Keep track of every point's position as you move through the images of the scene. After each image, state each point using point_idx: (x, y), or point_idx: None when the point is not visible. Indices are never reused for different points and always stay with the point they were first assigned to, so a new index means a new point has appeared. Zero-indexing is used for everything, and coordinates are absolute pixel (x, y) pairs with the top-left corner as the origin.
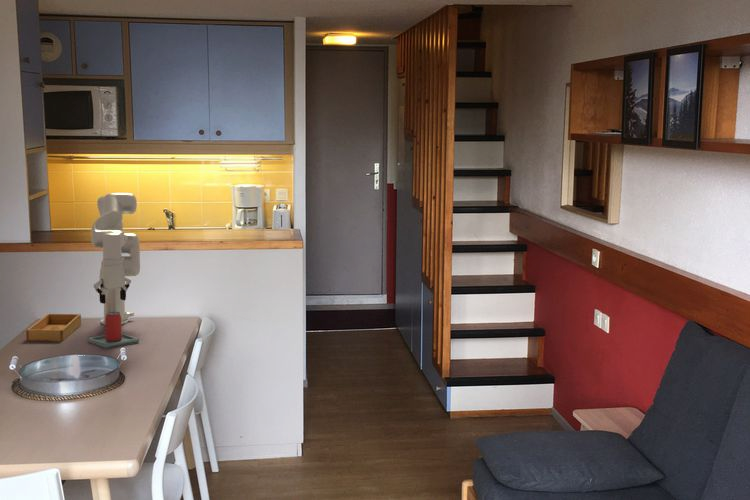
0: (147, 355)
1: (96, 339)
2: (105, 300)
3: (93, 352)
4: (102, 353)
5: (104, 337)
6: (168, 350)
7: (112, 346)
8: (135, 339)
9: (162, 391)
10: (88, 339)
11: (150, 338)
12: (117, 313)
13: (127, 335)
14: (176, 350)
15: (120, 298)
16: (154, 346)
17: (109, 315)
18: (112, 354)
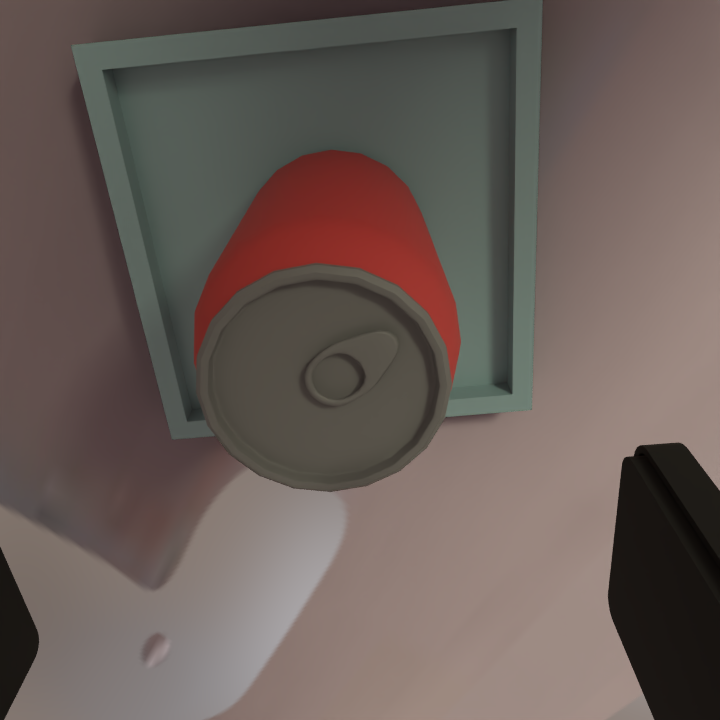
0: (352, 707)
1: (186, 66)
2: (6, 712)
3: (29, 453)
4: (90, 516)
5: (302, 49)
6: (540, 686)
7: None
8: (491, 411)
9: None
10: (79, 52)
11: (712, 313)
12: (397, 405)
13: (523, 225)
14: (580, 710)
15: (633, 477)
16: (539, 560)
17: (222, 428)
18: (151, 577)
